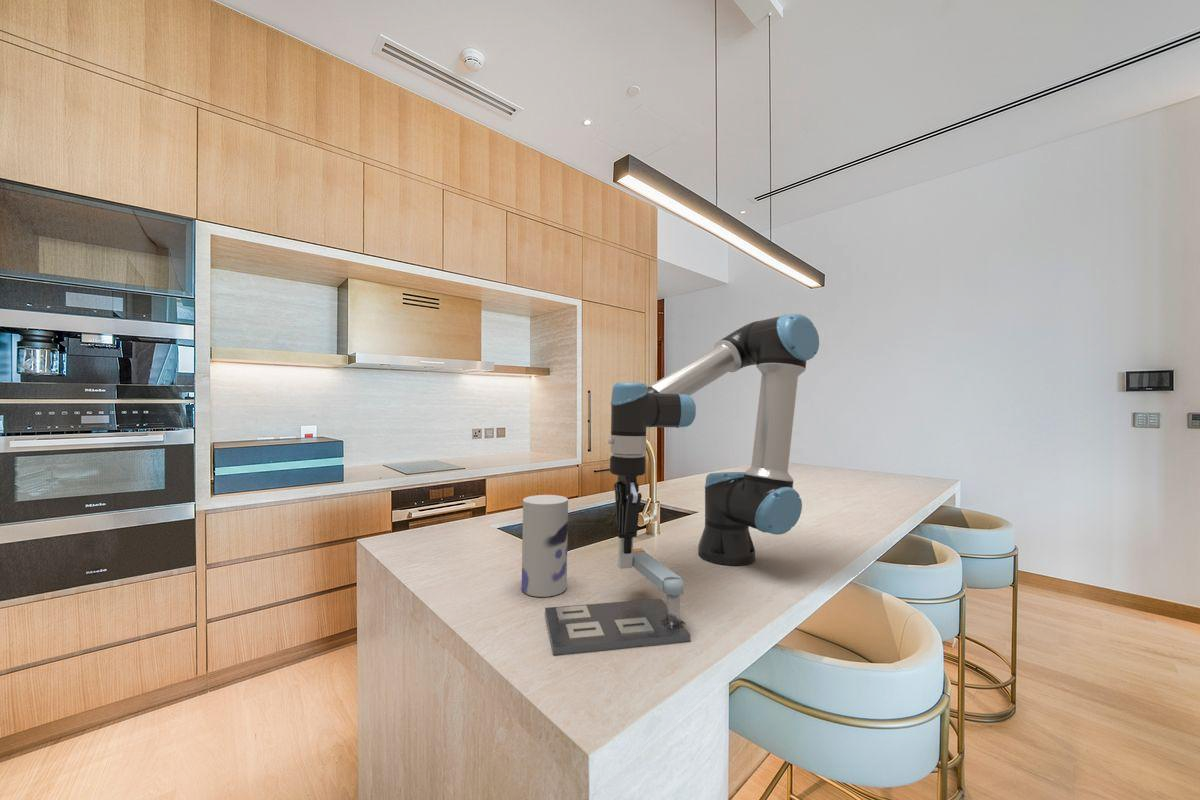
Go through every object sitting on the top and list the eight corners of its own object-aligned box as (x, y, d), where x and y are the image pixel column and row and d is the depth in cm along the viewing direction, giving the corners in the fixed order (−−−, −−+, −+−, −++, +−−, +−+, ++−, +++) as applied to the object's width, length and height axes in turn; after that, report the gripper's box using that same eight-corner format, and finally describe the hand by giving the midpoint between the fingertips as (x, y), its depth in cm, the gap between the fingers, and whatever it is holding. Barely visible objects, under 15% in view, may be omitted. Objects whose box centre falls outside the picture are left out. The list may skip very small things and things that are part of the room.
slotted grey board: (661, 604, 94) (661, 596, 94) (690, 641, 80) (690, 632, 80) (544, 613, 89) (545, 605, 89) (553, 655, 75) (553, 645, 75)
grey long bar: (688, 594, 83) (688, 582, 83) (667, 597, 81) (668, 585, 81) (641, 557, 102) (641, 548, 102) (623, 559, 101) (623, 549, 101)
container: (559, 599, 96) (560, 504, 96) (514, 595, 98) (516, 501, 98) (571, 581, 106) (573, 495, 106) (530, 577, 108) (532, 493, 108)
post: (679, 622, 86) (680, 588, 86) (688, 634, 82) (689, 597, 82) (657, 625, 85) (658, 589, 85) (665, 636, 81) (666, 599, 81)
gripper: (603, 451, 102) (601, 557, 102) (618, 459, 89) (615, 579, 89) (636, 452, 104) (633, 556, 103) (654, 459, 91) (652, 577, 91)
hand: (625, 566), depth 96 cm, fingers closed
